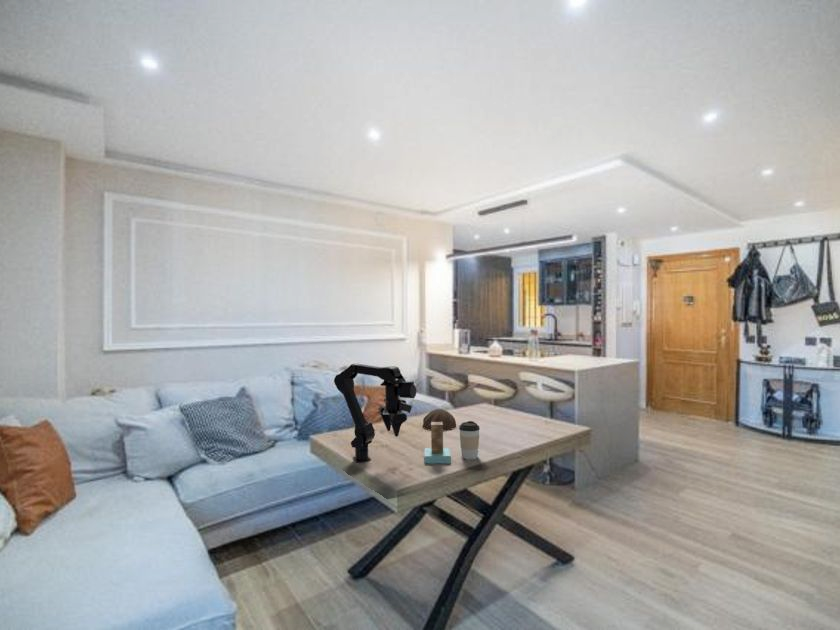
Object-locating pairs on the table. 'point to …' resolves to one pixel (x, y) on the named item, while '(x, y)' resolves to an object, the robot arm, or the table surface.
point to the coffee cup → (469, 439)
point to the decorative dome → (439, 419)
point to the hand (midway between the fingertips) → (392, 433)
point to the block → (437, 437)
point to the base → (437, 456)
